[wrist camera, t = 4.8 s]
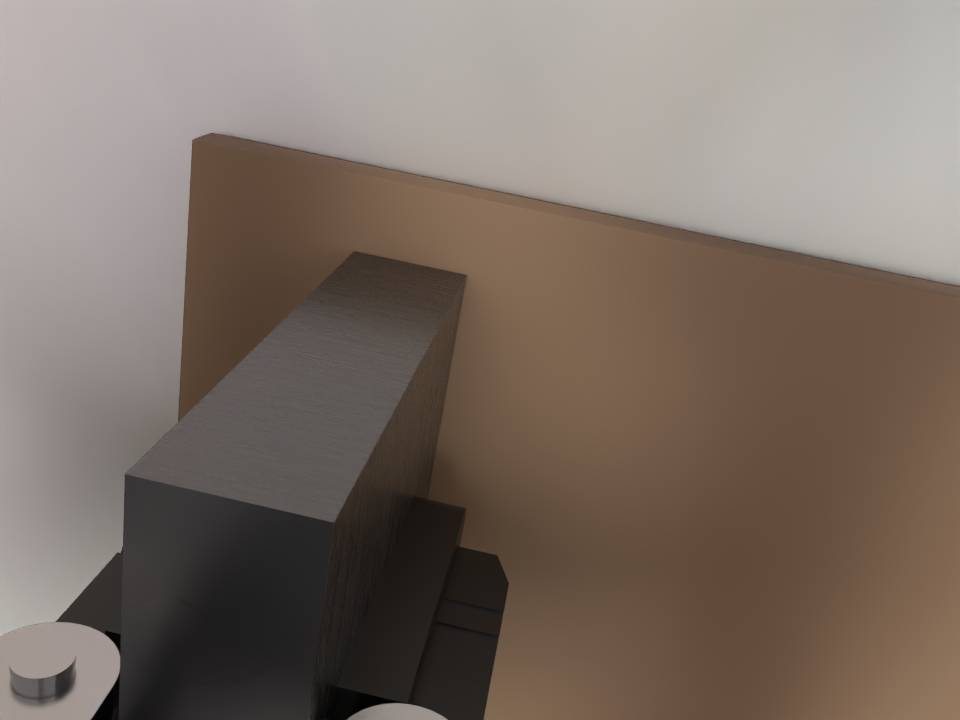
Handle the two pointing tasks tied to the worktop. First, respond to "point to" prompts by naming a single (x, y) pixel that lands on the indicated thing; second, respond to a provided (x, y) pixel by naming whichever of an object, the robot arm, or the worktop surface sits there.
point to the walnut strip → (543, 456)
